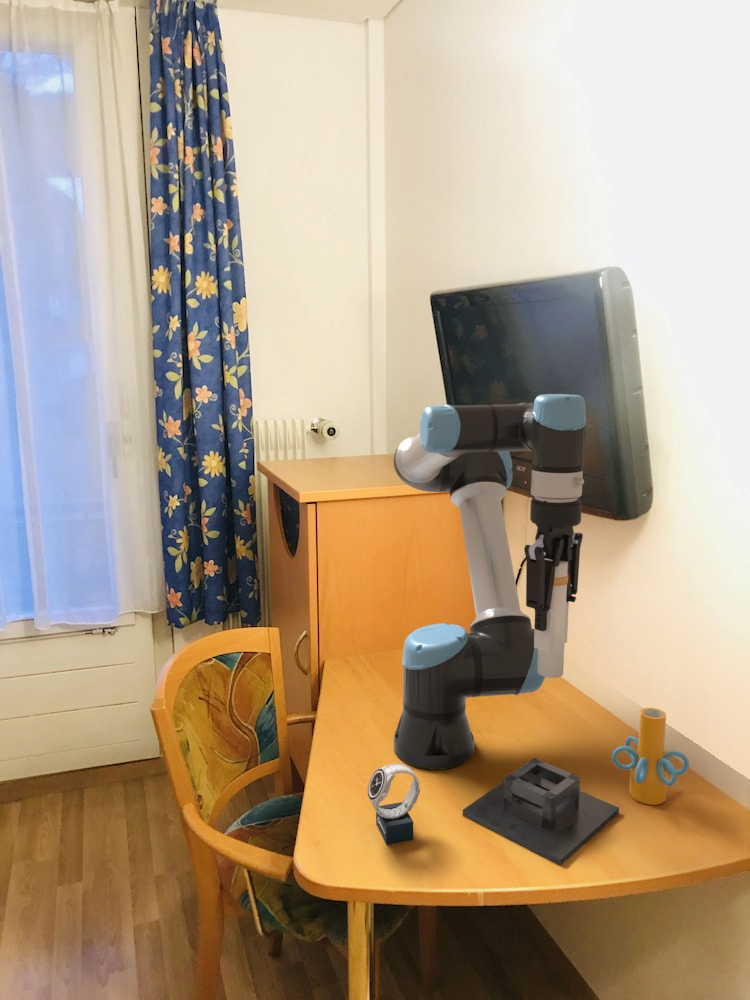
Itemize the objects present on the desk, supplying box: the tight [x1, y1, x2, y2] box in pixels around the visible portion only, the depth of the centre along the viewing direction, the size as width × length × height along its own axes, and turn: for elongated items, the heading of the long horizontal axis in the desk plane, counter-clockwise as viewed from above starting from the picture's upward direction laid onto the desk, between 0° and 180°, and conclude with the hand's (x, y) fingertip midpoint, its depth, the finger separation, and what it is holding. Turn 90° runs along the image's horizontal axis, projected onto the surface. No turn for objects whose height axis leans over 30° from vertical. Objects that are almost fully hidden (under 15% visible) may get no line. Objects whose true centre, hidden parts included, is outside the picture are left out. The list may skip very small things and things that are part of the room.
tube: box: [537, 559, 568, 679], centre depth 120 cm, size 4×4×18 cm
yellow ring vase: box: [611, 707, 690, 806], centre depth 129 cm, size 12×10×15 cm
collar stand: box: [462, 757, 620, 866], centre depth 125 cm, size 18×18×6 cm
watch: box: [367, 763, 421, 846], centre depth 120 cm, size 6×8×11 cm
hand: (550, 644), depth 121 cm, fingers closed on tube, 4 cm apart
